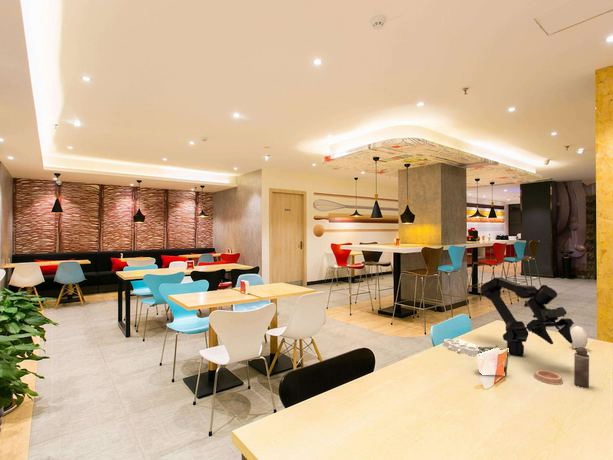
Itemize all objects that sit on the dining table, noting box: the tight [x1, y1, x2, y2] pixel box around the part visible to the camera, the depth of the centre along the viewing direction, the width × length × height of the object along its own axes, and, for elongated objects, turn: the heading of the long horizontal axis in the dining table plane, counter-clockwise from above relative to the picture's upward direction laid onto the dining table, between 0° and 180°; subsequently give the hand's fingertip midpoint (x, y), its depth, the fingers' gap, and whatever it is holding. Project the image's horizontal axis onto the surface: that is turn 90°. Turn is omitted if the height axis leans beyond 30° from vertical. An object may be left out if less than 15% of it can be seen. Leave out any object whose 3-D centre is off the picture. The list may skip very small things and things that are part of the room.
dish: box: [533, 369, 564, 386], centre depth 136 cm, size 10×10×2 cm
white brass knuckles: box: [443, 338, 482, 357], centre depth 169 cm, size 3×18×15 cm
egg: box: [569, 325, 589, 349], centre depth 170 cm, size 7×7×12 cm
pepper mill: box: [573, 347, 590, 389], centre depth 130 cm, size 4×4×15 cm
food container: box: [478, 346, 511, 377], centre depth 142 cm, size 12×6×10 cm, turn 84°
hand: (562, 343), depth 139 cm, fingers open, 9 cm apart
